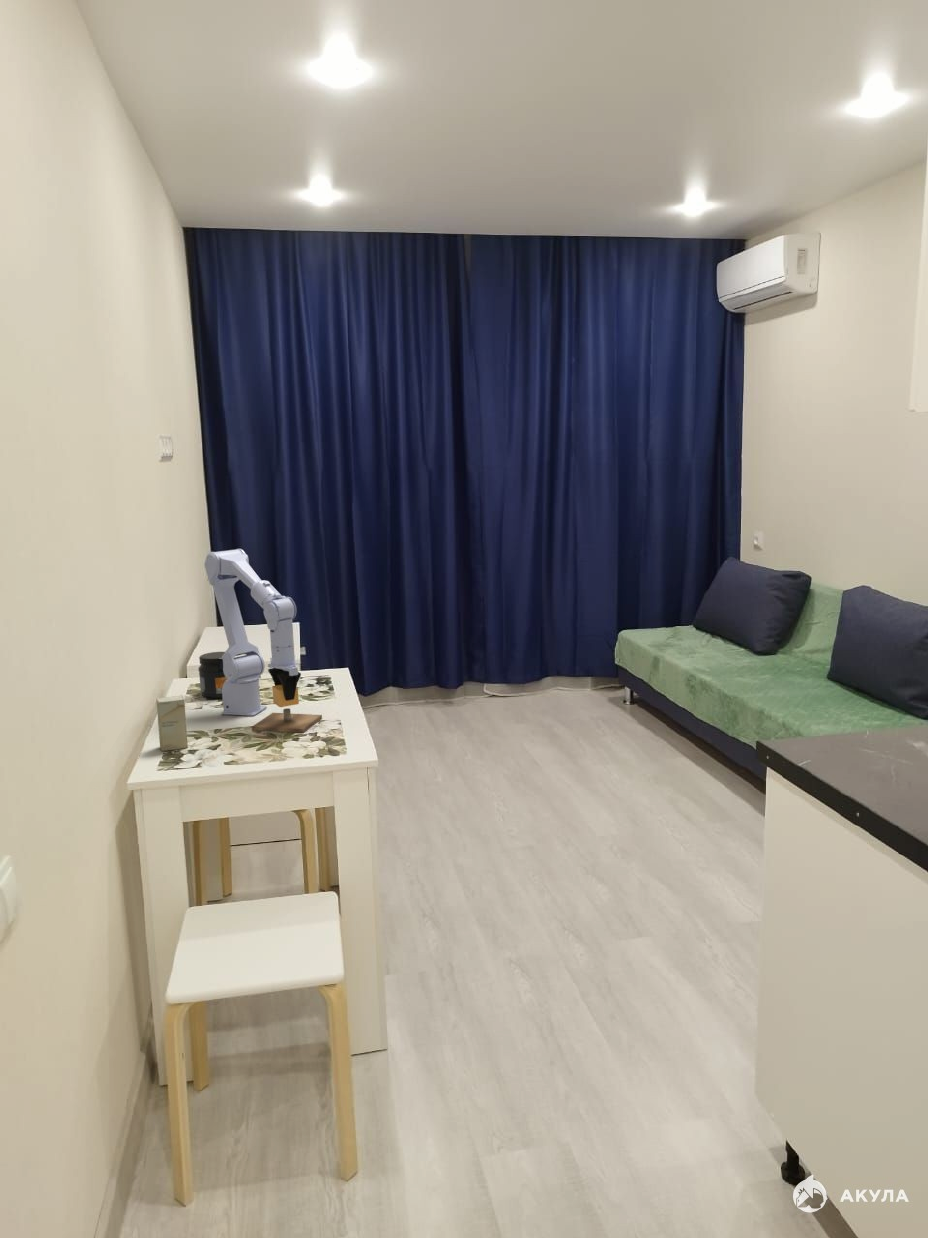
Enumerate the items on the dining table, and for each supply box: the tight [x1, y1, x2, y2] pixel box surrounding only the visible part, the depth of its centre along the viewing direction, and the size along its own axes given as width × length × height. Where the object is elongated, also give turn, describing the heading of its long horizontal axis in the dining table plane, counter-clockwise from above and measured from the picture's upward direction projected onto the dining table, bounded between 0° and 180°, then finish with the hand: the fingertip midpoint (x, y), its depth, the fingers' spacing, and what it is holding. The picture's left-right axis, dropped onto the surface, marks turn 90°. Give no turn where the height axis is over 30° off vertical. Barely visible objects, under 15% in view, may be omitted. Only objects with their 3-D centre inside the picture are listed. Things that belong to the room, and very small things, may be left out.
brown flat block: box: [251, 708, 323, 734], centre depth 231 cm, size 14×12×4 cm
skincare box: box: [155, 694, 189, 752], centre depth 215 cm, size 6×4×12 cm
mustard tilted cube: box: [271, 685, 300, 708], centre depth 230 cm, size 5×5×4 cm
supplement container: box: [198, 651, 227, 700], centre depth 260 cm, size 10×10×12 cm
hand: (285, 697), depth 230 cm, fingers closed on mustard tilted cube, 5 cm apart
